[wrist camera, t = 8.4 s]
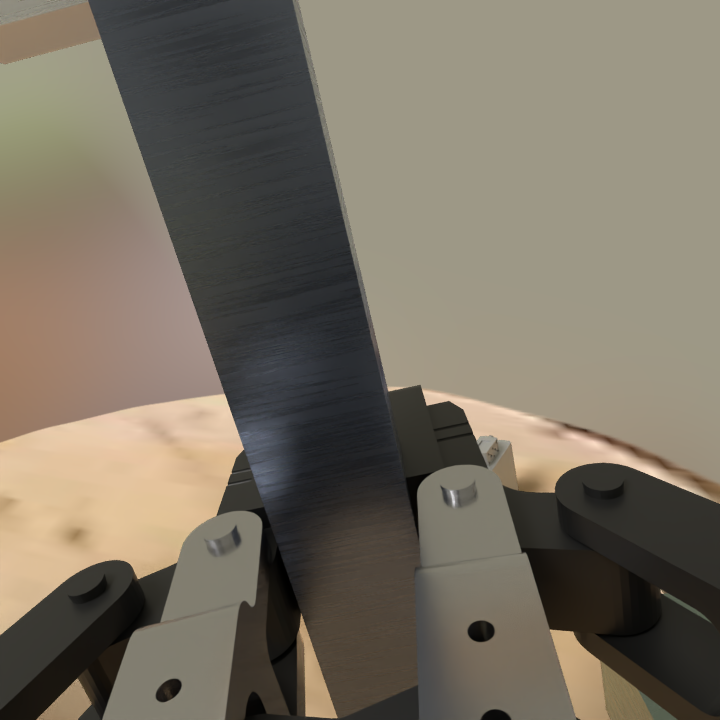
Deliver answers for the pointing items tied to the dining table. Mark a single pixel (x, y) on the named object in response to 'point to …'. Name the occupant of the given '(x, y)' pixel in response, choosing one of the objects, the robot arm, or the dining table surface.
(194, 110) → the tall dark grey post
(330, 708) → the dining table surface
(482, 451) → the lighter
